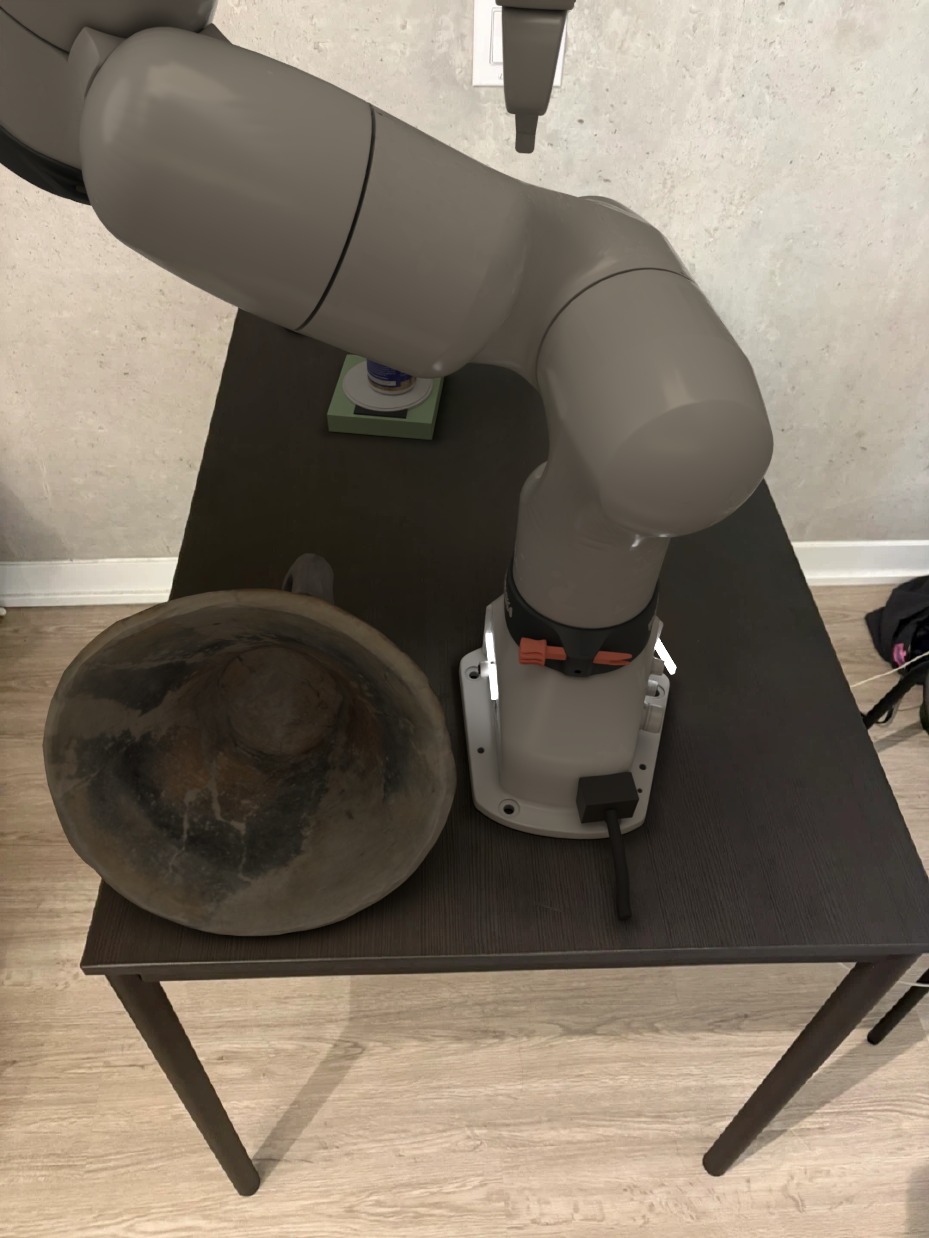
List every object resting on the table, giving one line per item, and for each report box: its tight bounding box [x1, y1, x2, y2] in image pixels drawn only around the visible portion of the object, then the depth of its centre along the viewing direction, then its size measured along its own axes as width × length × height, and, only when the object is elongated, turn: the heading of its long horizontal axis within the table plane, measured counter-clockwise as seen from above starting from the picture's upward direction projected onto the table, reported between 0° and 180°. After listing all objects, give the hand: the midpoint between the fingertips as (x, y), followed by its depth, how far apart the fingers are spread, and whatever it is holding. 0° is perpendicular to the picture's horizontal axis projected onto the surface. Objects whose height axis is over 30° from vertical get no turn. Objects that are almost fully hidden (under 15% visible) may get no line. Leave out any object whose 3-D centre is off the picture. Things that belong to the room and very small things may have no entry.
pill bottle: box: [366, 359, 417, 395], centre depth 96 cm, size 6×6×10 cm
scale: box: [326, 354, 445, 441], centre depth 101 cm, size 12×12×3 cm
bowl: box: [41, 552, 458, 937], centre depth 63 cm, size 27×26×15 cm
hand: (527, 130), depth 83 cm, fingers open, 8 cm apart
